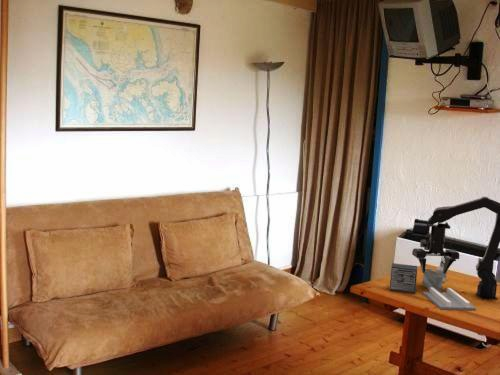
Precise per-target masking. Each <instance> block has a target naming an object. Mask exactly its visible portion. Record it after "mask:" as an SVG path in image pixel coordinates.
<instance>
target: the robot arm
mask: <svg viewBox="0 0 500 375" xmlns="http://www.w3.org/2000/svg"><path fill="white" fill-rule="evenodd" d="M483 208H485V209H487V210H489V211H491V212H493V213H495V222H494V227H493V230H492V233H491V235H490V239H489V242H488V245H487V246H486V249H485V253H484V255H483V256H482V258H481V257H478V260H477V263H476V265H475V270H476V274H477V276H478V278H479V279H480V280H479V281H478V282H479V283H478V285H477V290H476V293H475V295H477V296H478V297H479V298H481V299H483V300H498V297H497V296H496V295H497V287H498V283H497V282H498V281H497V277H496V274H494V273H493V271H494V262H495V261H494V260H495V257H496V255H497V252H498V249H499V246H500V202H499V201H496V200H494V199H492V198H489V197H488V196H482V197H480V198H479V197H478V198H476V199H472V200H470V201H466V202H463V203H460V204H456V205H451V206H450V205H449V206H440V207H439V206H438V207H436V208H435V209H434V210H433V212H432V215H430V217H429V218H428V219H427V220H424V219H419V218H415V219H414V224H413V227H412V235H413V236H414V235H415V236H422V237H427V235H429V234H430V237H429V238H428V241H427V239H420V243H419V244H420V246H419V247H420V248H413V249H412V250H411V251H412V253H411V254H412V255H413V257H414V258H416V259H418V261H419V264H420V268H421V273H422V274H424V272H425V269H426V265H427V258H426V257H427V256H430V257H443V258H444V259H445V261H444V269H443V274H445V273H446V272H447V273H448V270H449V268H450V267H451V266H452V265H453V263H454V262H456V261H457V260H460V253H459V252H458V251H457V250H455V249H450V250H449V249H446V248H445V250H446V251H445V250H444V247H445V245H446V229H447V230H451V225H450V224H449V223H448V222H447V221H449V220H451V219H452V218H454V217H456V216H459V215H462V214H465V213H469V212H472V211H476V210H480V209H483ZM444 239H445V241H444ZM423 248H424V249H423Z"/></svg>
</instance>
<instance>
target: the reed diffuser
mask: <svg viewBox="0 0 500 375" xmlns="http://www.w3.org/2000/svg"><path fill="white" fill-rule="evenodd" d="M449 240H450V238H448V241H447V243H446V247H445V250H444V252H445V251H446V249H447V247H448V245H449ZM455 240H456V238H454V239H453V240H452V243H451V245H450V247H449V249H447V250H451V248H452V247H453V244H454V242H455ZM444 241H445V242H446V238H445V239H444ZM444 262H445V259H444V257H442V258H441V260H440V262H439V266H438V267H436V268H435V269H436V270H435V272H436V273H438V274H439V275H441V276H442V277H443V283H445V282H446V279H447V273H448V271H447V272H446V273H445V274H443V269H444Z"/></svg>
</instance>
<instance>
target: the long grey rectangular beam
mask: <svg viewBox="0 0 500 375" xmlns="http://www.w3.org/2000/svg"><path fill="white" fill-rule="evenodd" d="M422 276H423V277H422V286H424V287H425V288H426V289H428V290H429V288H430V287H433V288H434V289H436V290H437V291H438V292H442V291H443V290H442V289H443V283H444V282H443V277H442V276H441V275H439V274H438V273H436V270H434V269H433V268H425V272H424V273H423V275H422Z"/></svg>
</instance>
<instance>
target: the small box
mask: <svg viewBox="0 0 500 375" xmlns="http://www.w3.org/2000/svg"><path fill="white" fill-rule="evenodd" d="M390 269H391V271H390V282H389V288H388V289H389V291H391V290H393V291H392V292H394V291H395V292H401V293H408V294H416V287H417V277H418V265H411V264H403V263H402V264H401V263H395V262H393V263H391V268H390Z"/></svg>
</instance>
